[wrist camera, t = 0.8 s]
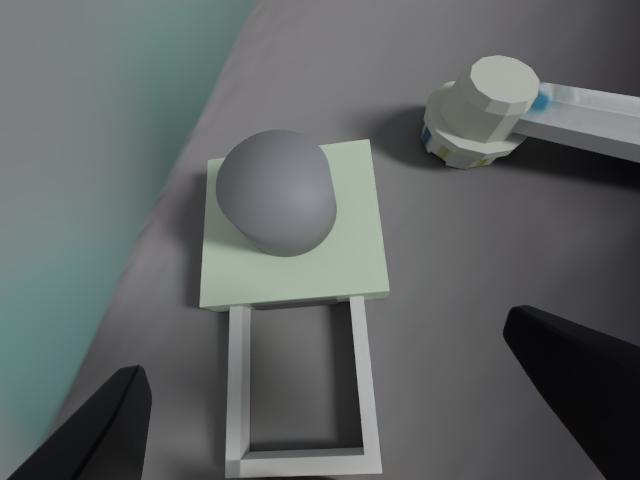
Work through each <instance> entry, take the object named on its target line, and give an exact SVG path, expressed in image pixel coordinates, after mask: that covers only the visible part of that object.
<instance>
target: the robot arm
mask: <svg viewBox="0 0 640 480" xmlns="http://www.w3.org/2000/svg"><path fill="white" fill-rule="evenodd" d="M503 337H504V339H505V341H506V343H507V344H508V346H509V348H510V349H511V351H512V352H513V354H514V355H515V357H516V358H517V360H518V361H519V363H520V364H521V366H522V367H523V369H524V371H525V372H526V374H527V375H528V377H529V378H530V380H531V381H532V383H533V384H534V386H535V387H536V389H537V390H538V392H539V393H540V395H541V396H542V397H543V399H544V400H545V401H546V403H547V404H548V405H549V406H550V408H551V409H552V410H553V412H554V413H555V414H556V415H557V417H558V418H559V419H560V421H561V422H562V423H563V424H564V426H565V427H566V428H567V430H568V431H569V432H570V433H571V435H572V436H573V437H574V439H575V440H576V441H577V443H578V444H579V445H580V446H581V448H582V449H583V450H584V452H585V453H586V454H587V455H588V457H589V458H590V459H591V461H592V462H593V463H594V464H595V466H596V467H597V468H598V470H599V471H600V472H601V473H602V475H603V476H604V477H605V479H606V480H640V347H639V346H637V345H634V344H631V343H629V342H626V341H623V340H621V339H618V338H615V337H612V336H610V335H607V334H604V333H602V332H599V331H596V330H594V329H591V328H588V327H585V326H583V325H580V324H577V323H575V322H572V321H569V320H567V319H564V318H561V317H558V316H556V315H553V314H550V313H548V312H545V311H542V310H540V309H537V308H534V307H531V306H528V305H522V306H516V307H512V308H511V309H510V310H509V313H508V316H507V319H506V323H505V326H504V329H503ZM151 405H152V394H151V389H150V386H149V383H148V380H147V376H146V373H145V370H144V368H143V367H142V366H140V365H136V366H130V367H124V368H121V369H119V370H118V371H116V372H115V373H114V374H113V375H112V376H111V377H110V378H109V379H108V380H107V381H106V382H105V383H104V384H103V385H102V386H101V387H100V388H99V389H98V390H97V391H96V392H95V393H94V394H93V395H92V396H91V397H90V398H89V399H88V400H87V401H86V402H85V403H84V404H83V405H82V406H81V407H80V408H79V409H78V410H77V411H76V412H75V413H74V414H73V415H72V416H71V417H70V418H69V419H68V420H67V421H66V422H65V423H64V424H63V425H62V426H60V427H59V428H58V429H57V430H56V431H55V432H54V433H53V434H52V435H51V436H50V437H49V438H48V439H47V440H46V441H45V442H44V443H43V444H42V445H41V446H40V447H39V448H38V449H37V450H36V451H35V452H34V453H33V454H32V455H31V456H30V457H29V458H28V459H27V460H26V461H25V462H24V463H23V464H22V465H21V466H20V467H19V468H18V469H17V470H16V471H15V472H14V473H13V474H12V475H11V476H10V477H9V478H8V479H7V480H141V477H142V471H143V464H144V457H145V449H146V442H147V435H148V427H149V420H150V413H151Z"/></svg>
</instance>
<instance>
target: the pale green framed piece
mask: <svg viewBox="0 0 640 480" xmlns="http://www.w3.org/2000/svg"><path fill="white" fill-rule="evenodd" d="M389 291H390V290H389V282H388V275H387V268H386V260H385V253H384V245H383V238H382V230H381V223H380V216H379V208H378V201H377V193H376V186H375V178H374V171H373V164H372V156H371V149H370V141H369V139H366V140H359V141H351V142H343V143H336V144H328V145H320V146H318V145H317V143H315V142H314V141H313V140H312V139H310V138H308V137H307V136H305V135H303V134H300V133H297V132H294V131H288V130H271V131H265V132H262V133H258V134H256V135H253V136H251V137H249V138H247V139H246V140H244V141H243V142H241V143H240V144H238V145H237V146H236V147H235V148H234V149H233V150H232V151H231V152H230V153H229V154H228V155H227V157H226V158H220V159H213V160H208V171H207V188H206V205H205V222H204V239H203V256H202V273H201V290H200V306H199V307H201V308H204V309H208V310H211V311H215V312H225V311H230V321H229V357H228V392H227V427H226V462H225V478H248V477H280V476H312V475H343V474H375V473H382V466H381V456H380V447H379V438H378V428H377V419H376V410H375V400H374V391H373V382H372V372H371V363H370V354H369V344H368V335H367V326H366V316H365V307H364V300H370V299H382V298H387V296H388V294H389ZM346 301H350V306H351V317H352V328H353V338H354V349H355V360H356V371H357V381H358V392H359V403H360V414H361V424H362V435H363V446H364V447H359V448H334V449H308V450H283V451H257V452H250V322H251V309H259V310H272V309H285V308H297V307H309V306H321V305H333V304H339V302H346Z"/></svg>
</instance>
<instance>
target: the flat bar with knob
mask: <svg viewBox="0 0 640 480" xmlns="http://www.w3.org/2000/svg"><path fill="white" fill-rule="evenodd" d="M424 121H425V123H424V126H423V131H422V136H421V139H422V141H423V143H424V145H425V147H426V149H427V151H428V153H430V152H433V153H434V154H436V155H437V156H439V157H440V158H442V159H443V160H444V161H446V165H447V166H451V167H455V168H460V169H464V170H467V169H468V168H471V167H477V166H483V165H489V164H490V163H491V162H493V161H494V160H495V159H496V158H497V157H501V156H507V155H508V154H509V153H510V152H511V151H513V150H514V149H515V148H516V147H517V146H518V145H520V144H521V143H522V142H523V141H524V140H525V139H526V138H527V137H528V136H531V137H535V138H539V139H543V140H547V141H551V142H556V143H560V144H564V145H568V146H572V147H576V148H580V149H585V150H589V151H593V152H597V153H601V154H605V155H609V156H614V157H618V158H622V159H626V160H630V161H634V162H638V163H640V98H639V97H633V96H626V95H620V94H614V93H607V92H601V91H595V90H589V89H582V88H576V87H570V86H563V85H557V84H551V83H545V82H539V79H538V77H537V76H536V74H535V73H534V71H533V70H532V68H530V67H529V66H527V65H525V64H524V63H522V62H520V61H519V60H517V59H514V58H509V57H504V56H500V55H498V56H491V57H484V58H482V59H480V60H478V61H477V62H475V63H474V64H473V65H471V66H470V67H469V68H467V69H466V70H465V71H463V72H462V73H461V74H460V76H459V77H458V79H457V80H456V81H454V82H447V83H446V84H444V85H443V86H442V87H440V88H439V89H438V90H436V91H435V92H434V93H432V94H431V95H430V97H429V99H428V102H427V106H426V111H425V115H424Z"/></svg>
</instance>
